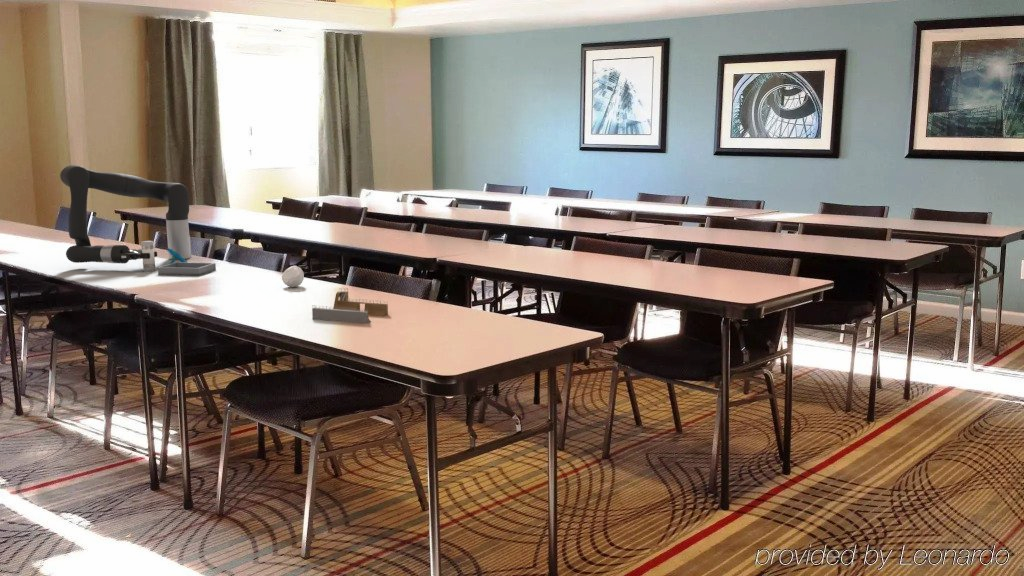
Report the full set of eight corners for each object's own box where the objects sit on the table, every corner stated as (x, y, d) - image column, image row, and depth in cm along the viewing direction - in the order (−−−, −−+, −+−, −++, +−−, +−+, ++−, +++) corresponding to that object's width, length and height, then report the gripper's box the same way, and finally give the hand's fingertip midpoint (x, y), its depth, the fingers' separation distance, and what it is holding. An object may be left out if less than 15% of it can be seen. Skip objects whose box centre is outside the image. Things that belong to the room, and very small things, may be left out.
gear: (190, 262, 395) (171, 246, 391) (181, 272, 393) (162, 257, 389) (185, 262, 404) (166, 247, 400) (176, 272, 402) (157, 257, 398)
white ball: (278, 287, 344) (277, 266, 342) (293, 284, 350) (292, 263, 348) (293, 289, 339) (292, 268, 338) (309, 286, 345) (308, 265, 344)
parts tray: (176, 269, 386) (175, 262, 386) (215, 270, 383) (215, 263, 382) (158, 274, 373) (157, 267, 372) (199, 275, 370) (198, 268, 369)
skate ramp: (289, 323, 287) (288, 299, 285) (349, 302, 319) (348, 280, 318) (374, 330, 276) (373, 305, 275) (426, 308, 309) (426, 285, 307)
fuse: (147, 269, 386) (145, 240, 384) (157, 269, 385) (155, 240, 383) (141, 271, 381) (138, 242, 379) (151, 271, 381) (149, 242, 378)
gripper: (103, 247, 377) (142, 248, 374) (124, 242, 391) (162, 243, 388) (105, 265, 379) (144, 266, 375) (126, 260, 392) (163, 261, 389)
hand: (153, 254), depth 382 cm, fingers closed on fuse, 4 cm apart
